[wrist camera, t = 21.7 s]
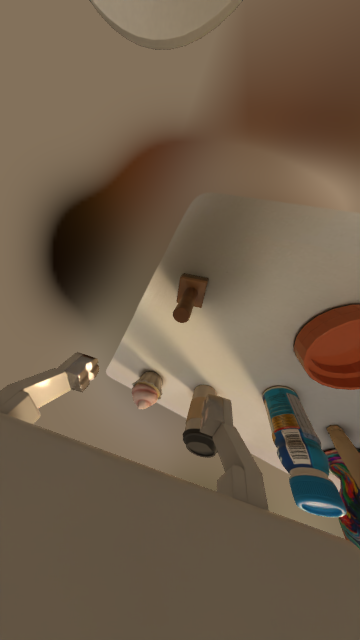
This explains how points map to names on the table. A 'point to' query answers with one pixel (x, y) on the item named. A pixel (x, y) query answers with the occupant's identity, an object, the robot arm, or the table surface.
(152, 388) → the cupcake
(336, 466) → the vase
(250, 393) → the table surface
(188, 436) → the coffee cup
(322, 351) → the bowl
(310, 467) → the beverage bottle
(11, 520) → the robot arm
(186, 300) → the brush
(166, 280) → the table surface
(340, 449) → the handle
